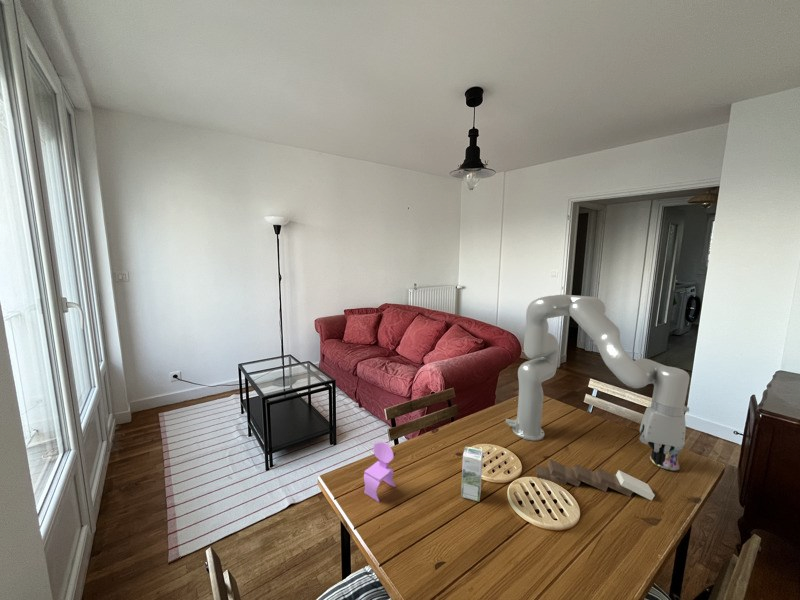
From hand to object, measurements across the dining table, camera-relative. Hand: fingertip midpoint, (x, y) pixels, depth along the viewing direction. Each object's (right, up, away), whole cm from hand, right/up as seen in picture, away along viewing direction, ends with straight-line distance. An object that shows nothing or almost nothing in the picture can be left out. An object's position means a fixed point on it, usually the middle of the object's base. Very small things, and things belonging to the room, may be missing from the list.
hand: (657, 462), depth 101 cm
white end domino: (-1, -10, +2) cm, 11 cm away
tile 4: (-24, -10, +9) cm, 28 cm away
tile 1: (-7, -10, +3) cm, 13 cm away
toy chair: (-87, -11, +3) cm, 87 cm away
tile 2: (-13, -10, +6) cm, 17 cm away
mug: (+15, -9, +18) cm, 26 cm away
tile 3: (-21, -9, +7) cm, 24 cm away
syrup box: (-58, -11, +2) cm, 59 cm away
